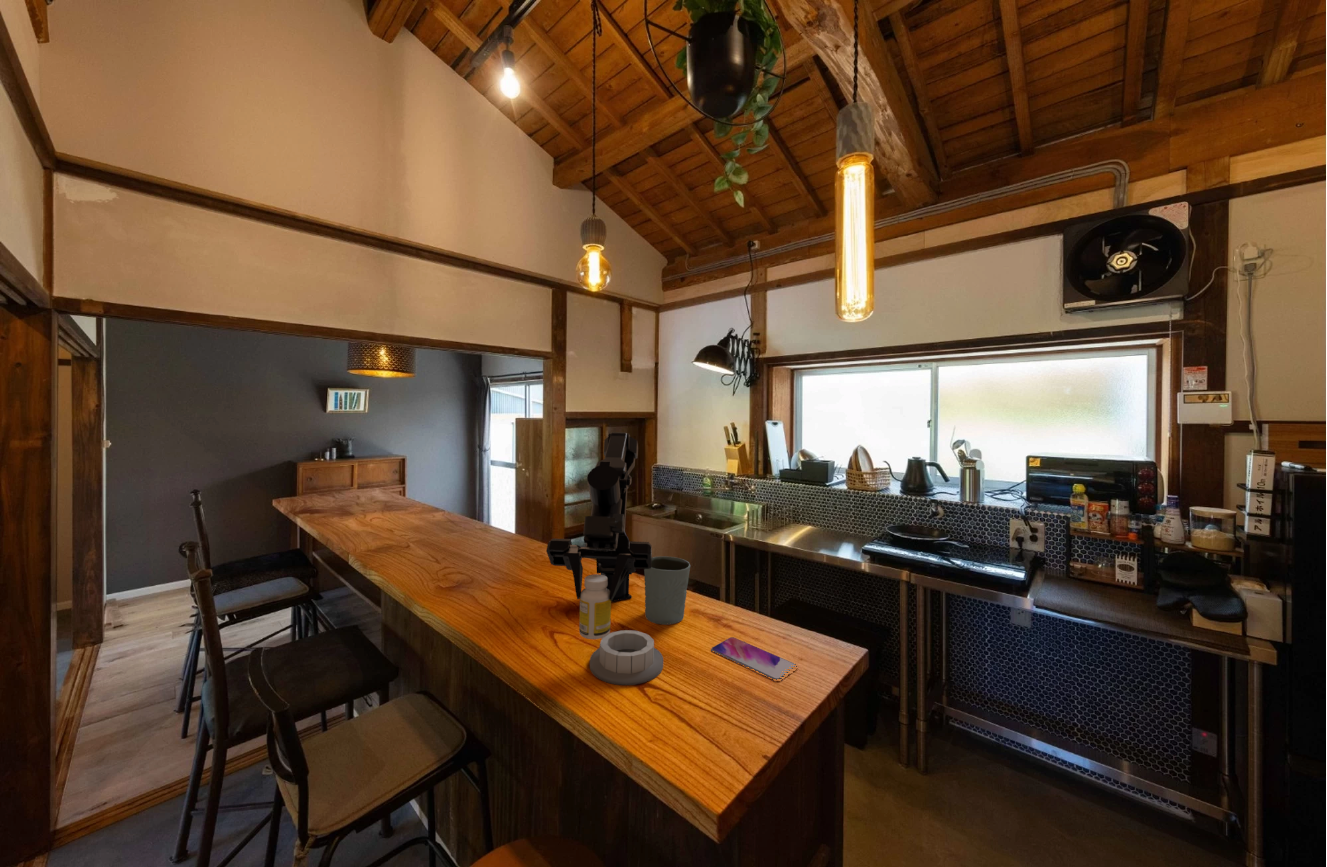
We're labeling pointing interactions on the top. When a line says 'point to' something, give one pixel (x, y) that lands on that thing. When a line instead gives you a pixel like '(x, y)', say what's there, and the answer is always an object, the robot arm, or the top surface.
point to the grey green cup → (666, 589)
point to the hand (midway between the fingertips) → (594, 599)
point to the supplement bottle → (595, 608)
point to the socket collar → (626, 658)
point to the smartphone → (753, 657)
